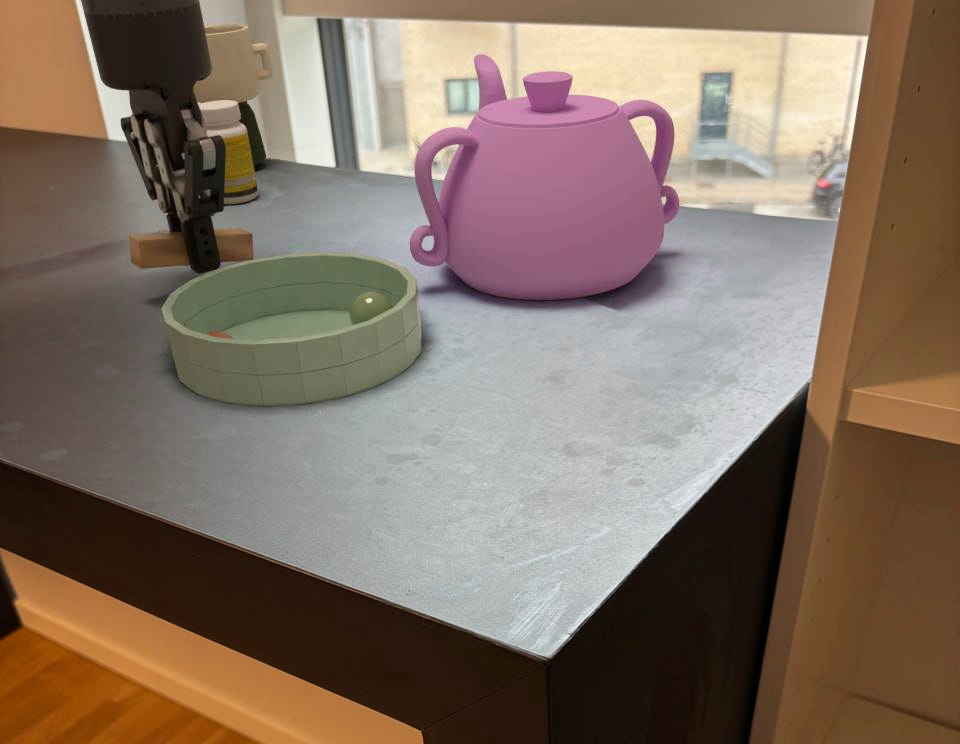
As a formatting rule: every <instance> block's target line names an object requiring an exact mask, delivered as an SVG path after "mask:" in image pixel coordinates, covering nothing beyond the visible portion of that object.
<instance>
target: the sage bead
mask: <svg viewBox="0 0 960 744" xmlns="http://www.w3.org/2000/svg"><path fill="white" fill-rule="evenodd" d="M391 308H393V306H392V304H391V302H390V301H389V299H388V298H387V297H385V296H384V295H383V294H381V293H378V292H374V291H368V292H364V293H362V294H360V295H358V296H357V297H356V298H355V299H354V301H353V302H352V304H351V307H350V321H351V324H352V326H353V325H356V324H359V323H362V322H365V321H369V320H370V319H372V318H374V317H376V316H378V315H380V314H382V313H384V312H386V311H387V310H389V309H391Z"/></svg>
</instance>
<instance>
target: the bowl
mask: <svg viewBox="0 0 960 744" xmlns="http://www.w3.org/2000/svg"><path fill="white" fill-rule="evenodd" d="M418 289H419V288H418V280H417V278H416V277H415V276H414V275H413V274H412V273H411V272H410V271H409V270H408V269H407V268H406V267H405V266H402V265H399V264H397V263H395V262H392V261H390V260H388V259H385V258H380V257H375V256H370V255H364V254H359V253H343V252H327V251H326V252H306V253H305V252H303V253H287V254H280V255H274V256H267V257H261V258H253V260H245V261H240V262H238V263H234V264H230V265H226V266H223V267H219V268H218V269H216V270H212V271H209V272H205V273H203V274H202V275H199V276H197V277H194V278H192V279H190V280H188V281H187V282H185V283H183V284H182V285H181V286H179V287H178V288H176V289H175V290H174V291H172V292H171V293H170V294H169V295H168V297H167V298H166V300H165V301H164V303H163V305H162V306H161V308H160V310H161V313H162V314H161V315H162V317H163V321H164V326H165V330H166V333H167V338H168V342H169V346H170V351H171V354H172V358H173V362H174V366H175V369H176V373H177V377H178V380H179V381H180V382H181V383H183V385H184V386H185V387H187V388H188V389H189V390H191V391H193V392H194V393H195V394H197V395H200V396H203V397H205V398H207V399H211V400H215V401H218V402H222V403H228V404H231V405H232V404H233V405H243V406H252V407H254V406H255V407H256V406H257V407H283V406H296V405H297V406H298V405H305V404H314V403H321V402H325V401H331V400H337V399H339V398H344V397H347V396H348V397H349V396H351V395H354V394H357V393H361V392H364V391H367V390H370V389H372V388H374V387H377V386H380V385H382V384H384V383H386V382H388V381H390V380H392V379H394V378H395V377H397V376H398V375H400V374H402V373H403V372H404V371H405V370H407V369H408V368H409V367H411V365H412V364H414V362H415V361H416V360H417V358H418V357H419V355H421V353H422V340H423V339H422V338H423V336H422V335H423V334H422V322H421V312H420V301H419V290H418ZM368 291H374V292H378V293H381V294H383V295H384V296H385V297H387V298H388V299H389V301H390V302H391V304H392V306H393V308H391V309H389V310H387V311H386V312H384V313H382V314H380V315H378V316H376V317H374V318H372V319H370V320H369V321H365V322H362V323H359V324H356V325H353V326H352V324H351V321H350V307H351V304H352V302H353V301H354V299H355V298H356V297H357V296H358V295H360V294H362V293H364V292H368ZM215 331H217V332H223V333H226V334H228V335H230V336H232V337H233V338H234V339H230V338H218V337H214V336H210V335H206V334H207V333H209V332H215Z"/></svg>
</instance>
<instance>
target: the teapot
mask: <svg viewBox="0 0 960 744" xmlns="http://www.w3.org/2000/svg"><path fill="white" fill-rule="evenodd" d="M473 65H474V69H475V72H476V76H477V79H478V80H477V82H478V83H477V84H478V111H477V112H476V113H475V115H474V116H473V118H472V119H471V121H470V123H469V125H468V126H467V128H464V127H458V126H450V127H445V128H442V129H440V130H437V131H436V132H433V133H432V134H431V135H430V136H428V137H427V138H426V139H425V140H424V141H423V143H422V144H421V145H420V146H419V148H418V149H417V152H416V155H415V159H414V167H413V168H414V179H415V184H416V188H417V191H418V195H419V198H420V201H421V204H422V207H423V210H424V212H425V214H426V218H427V221H428V223H429V225H427V224H424V225H420V226H417V227H416V228H415V229H414V230H413V231H412V234H411V235H410V238H409V239H410V240H409V251H410V254H411V257H412V259H413V260H414V261H415V262H416V263H418V264H420V265H422V266H425V267H439V266H441V265H443V264H444V263H445V264H446V265H447V266H448V267H449V268H450V269H451V270H452V272H454V273H455V275H457V277H458V278H459V279H460V280H461V281H462V282H463V283H464V284H465V285H468V287H470V288H472V289H473V290H476V291H479V292H480V293H484V294H487V295H492V296H495V297H501V298H507V299H515V300H527V301H556V300H568V299H577V298H584V297H588V296H593V295H598V294H602V293H605V292H609V291H612V290H615V289H617V288H620V287H622V286H624V285H627V284H628V283H629V282H631V281H632V280H634V279H635V278H636V277H637V276H638V275H639V274H640V273H641V271H642V270H644V268H645V267H647V265H648V264H649V263H650V262H651V260H652V259H653V258H654V257H655V256H656V254H657V253H658V251H659V250H660V248H661V247H662V243H663V240H664V236H665V226H666V225H668V223H670V222H671V221H673V220H674V219H675V217H676V216H677V215H678V214H679V213H678V212H679V211H680V198H679V194H678V193H677V191H676V189H675V188H673V186H670V185H664V183H665V181H666V177H667V174H668V171H669V166H670V163H671V160H672V156H673V151H674V145H675V125H674V122H673V119H672V117H671V114H670V113H669V112H668V111H667V110H666V109H665V108H664V107H663V106H661V105H660V104H658V103H656V102H653V101H651V100H648V99H634V100H630V101H628V102H625V103H624V104H621V105H618V103H617V102H615V101H613V100H611V99H609V98H605V97H600V96H593V95H587V94H586V95H585V94H570V90H571V87H572V84H573V79H574V76H573V75H572V74H570V73H568V72H564V71H558V70H557V71H556V70H555V71H552V70H551V71H550V70H549V71H539V72H533V73H529V74H527V75H525V76H523V78H522V83H523V88H524V90H525V94H526V96H518V97H513V98H508V97H507V93H506V89H505V85H504V81H503V78H502V74H501V71H500V68H499V66H498V64H497V63H496V62H495V60H494V59H493V58H492V57H491V56H488V55H486V54H483V53H482V54H481V53H479V54H476V55H475V56H474V58H473ZM639 117H648V118H651V119H652V120H653V122H654V125H655V142H654V148H653V153H652V156H651V160H650V157H649V155H648V153H647V151H646V149H645V147H644V145H643V143H642V142H641V140H640V137H639V136H638V134H637V132H636V130H635V128H634V126H633V125H632V122H631V120H634V119H636V118H639ZM455 145H458V146H457V148H456V151H455V153H454V155H453V156H452V159H451V161H450V164H449V165H448V169H447V171H446V174H445V176H444V179H443V182H442V185H441V189H440V192H439V197H438V198H437V194H436V191H435V187H434V183H433V174H432V169H433V163H434V159H435V157H436V156H437V154H438V153H440V151H442V150H444V149H446V148H448V147H451V146H455ZM662 198H665V203H664V204H663V200H662ZM426 237H433V246H432V248H431V249H430V250H426V249H424V248H423V241H424V239H425V238H426Z"/></svg>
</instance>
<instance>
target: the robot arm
mask: <svg viewBox="0 0 960 744" xmlns="http://www.w3.org/2000/svg"><path fill="white" fill-rule="evenodd" d="M80 3H81V7H82V11H83V14H84V18H85V22H86V26H87V30H88V34H89V39H90V42H91V46H92V50H93V54H94V58H95V62H96V66H97V70H98V75H99V78H100V80H101V82H102V84H103V85H105V86H106V87H107V88H109V89H113V90H118V91H128V96H129V106H130V110H131V114H130V116H126V117H121V118H120V128H121V130H122V132H123V135H124V136H125V140H126V142H127V145H128V147H129V149H130V152H131V154H132V157H133V159H134V162H135V165H136V167H137V169H138V172H139V175H140V177H141V179H142V181H143V185H144V187H145V189H146V192H147V195H148V197H149V198H150V200H151V201H157V202H158V208H159V209H160V212H162V214H164V215H165V214H166V215H165V216H166V220H167V225H168V229H169V232H182V233H183V238H184V241H185V245H186V250H187V254H188V259H189V263H190V265H183V266H185V267H187V266H189V268H190V270H192V271H193V272H195V273H196V274H206V273H209V272H211V271H214V270H216V269H219V268H221V263H222V262H221V261H220V256H219V252H218V247H217V242H216V237H215V232H214V229H215V227H214V224H213V223H214V222H213V218H212V217H215V215H216V214H217V213H222V212H224V210H225V204H224V189H225V160H226V147H225V143H224V140H223V138H222V137H221V136H220V135H217V136H212V137H208V135H207V130H206V126H205V121H204V117H203V115H202V113H201V110H200V108H199V102H197V99H196V96H195V93H194V91H193V90H194V89H193V87H194V85H195V83H196V82H197V81H202V80H204V79H206V78H207V77H208V76H209V75H210V74H211V71H212V64H211V59H210V54H209V49H208V43H207V38H206V33H205V28H204V26H205V23H204V18H203V13H202V7H201V2H200V0H80Z"/></svg>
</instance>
